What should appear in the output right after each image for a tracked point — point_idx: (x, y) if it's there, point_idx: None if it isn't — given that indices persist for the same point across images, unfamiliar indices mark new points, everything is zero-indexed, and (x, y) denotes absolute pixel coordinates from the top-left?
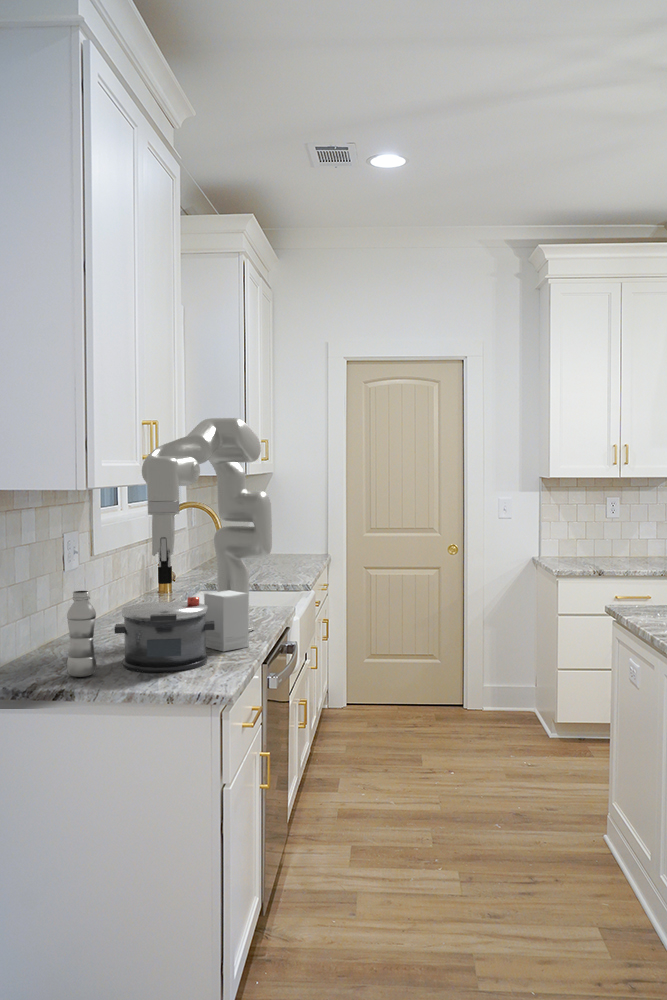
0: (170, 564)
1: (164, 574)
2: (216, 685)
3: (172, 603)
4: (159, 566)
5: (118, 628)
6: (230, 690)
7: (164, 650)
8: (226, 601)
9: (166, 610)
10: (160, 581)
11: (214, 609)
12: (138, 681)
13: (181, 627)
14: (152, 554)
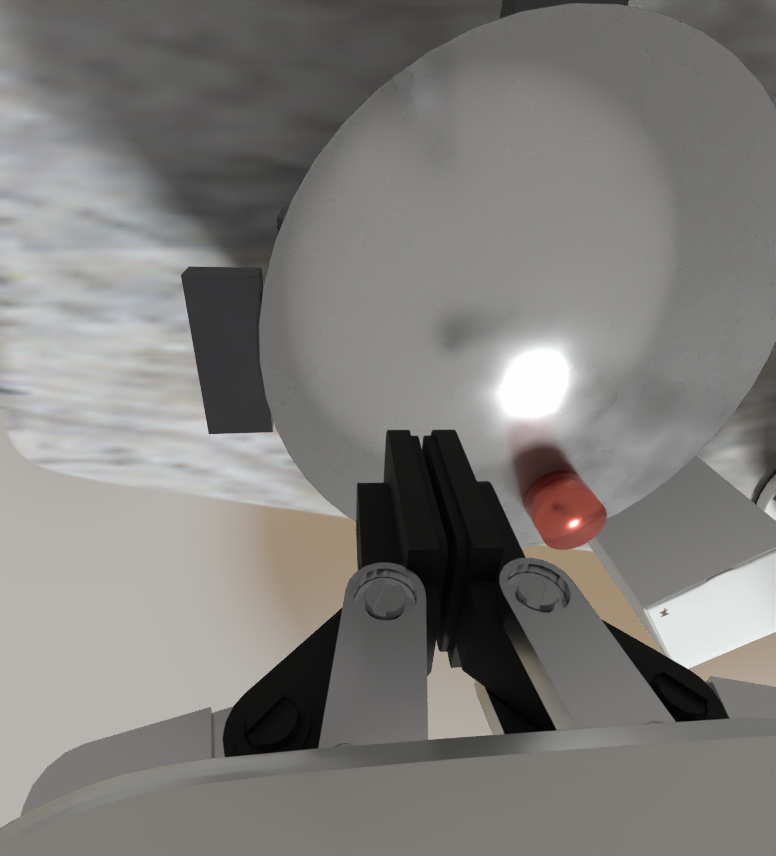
0: (476, 682)
1: (359, 548)
2: (115, 437)
3: (687, 393)
4: (346, 591)
5: (511, 4)
6: (58, 471)
7: None
8: (634, 599)
9: (405, 373)
10: (386, 457)
11: (666, 529)
12: (164, 161)
13: None
14: (2, 839)
